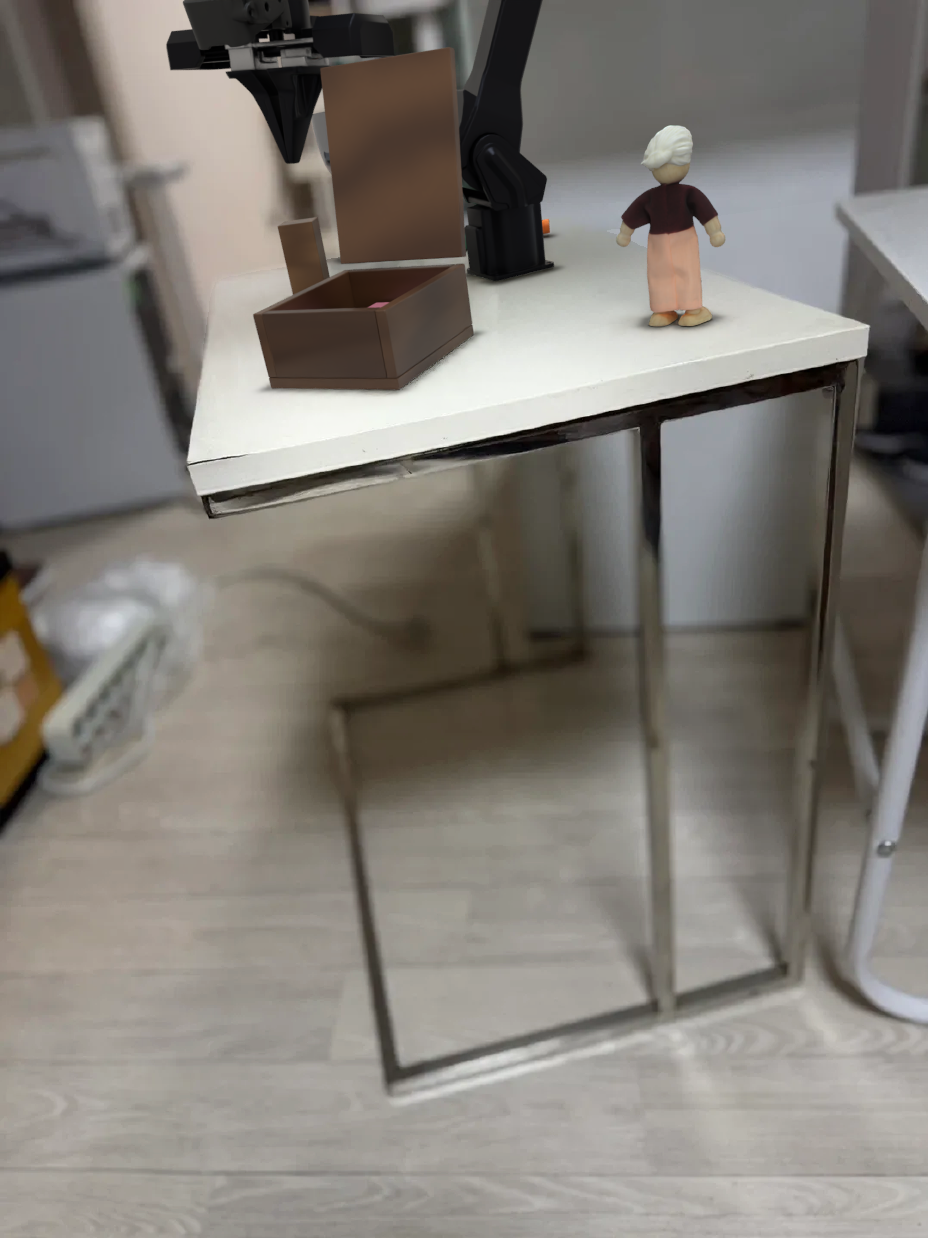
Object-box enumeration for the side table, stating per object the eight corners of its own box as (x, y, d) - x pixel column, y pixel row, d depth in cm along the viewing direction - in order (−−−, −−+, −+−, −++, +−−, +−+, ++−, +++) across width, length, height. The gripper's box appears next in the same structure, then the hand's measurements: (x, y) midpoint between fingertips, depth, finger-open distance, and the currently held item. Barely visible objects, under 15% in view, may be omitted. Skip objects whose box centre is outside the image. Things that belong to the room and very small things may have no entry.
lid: (449, 47, 63) (454, 48, 63) (319, 68, 67) (325, 69, 68) (461, 257, 68) (466, 256, 69) (340, 264, 72) (346, 263, 73)
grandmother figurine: (728, 311, 67) (731, 115, 61) (723, 326, 64) (725, 122, 58) (624, 316, 70) (615, 129, 63) (614, 331, 67) (604, 136, 60)
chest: (399, 390, 62) (385, 310, 59) (270, 388, 66) (252, 314, 63) (474, 334, 71) (465, 263, 68) (357, 336, 76) (344, 269, 73)
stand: (332, 291, 93) (317, 216, 89) (327, 297, 90) (311, 221, 87) (300, 295, 93) (284, 221, 89) (294, 301, 91) (277, 226, 87)
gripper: (96, -59, 68) (143, 174, 76) (306, -91, 61) (334, 170, 69) (195, -45, 77) (228, 163, 85) (388, -72, 70) (405, 158, 77)
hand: (292, 163), depth 79 cm, fingers closed
